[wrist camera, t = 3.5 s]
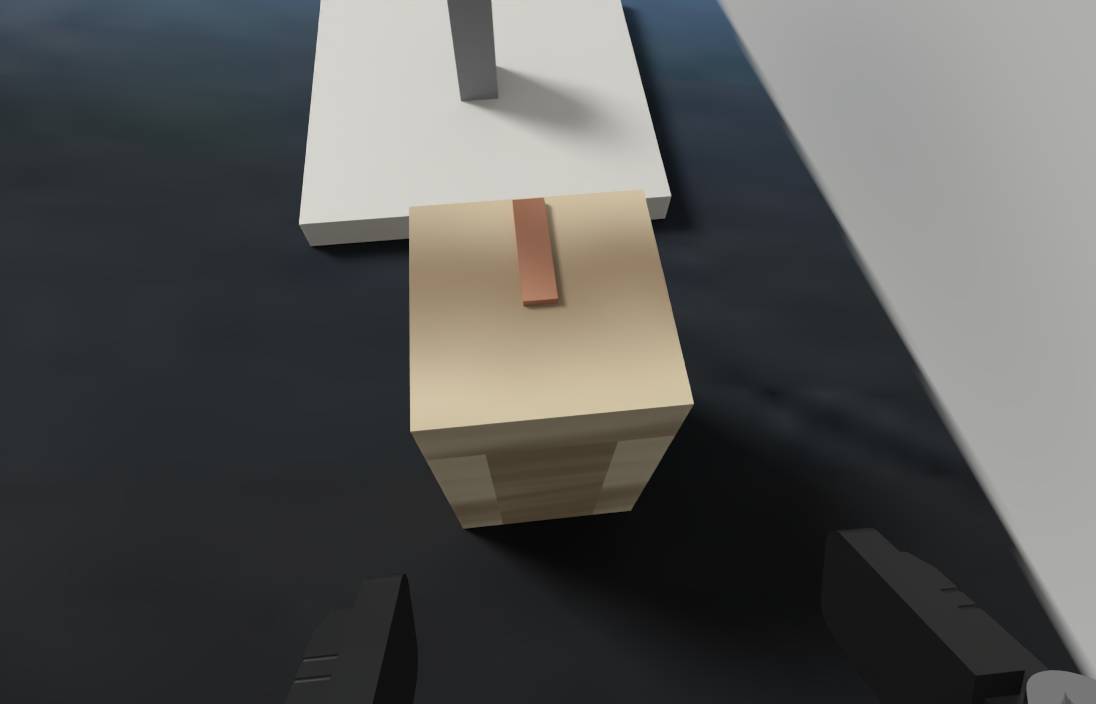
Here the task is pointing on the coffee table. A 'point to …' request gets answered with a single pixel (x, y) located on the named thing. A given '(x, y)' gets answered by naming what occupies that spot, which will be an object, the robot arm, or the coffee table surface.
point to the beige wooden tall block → (541, 354)
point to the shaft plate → (470, 111)
